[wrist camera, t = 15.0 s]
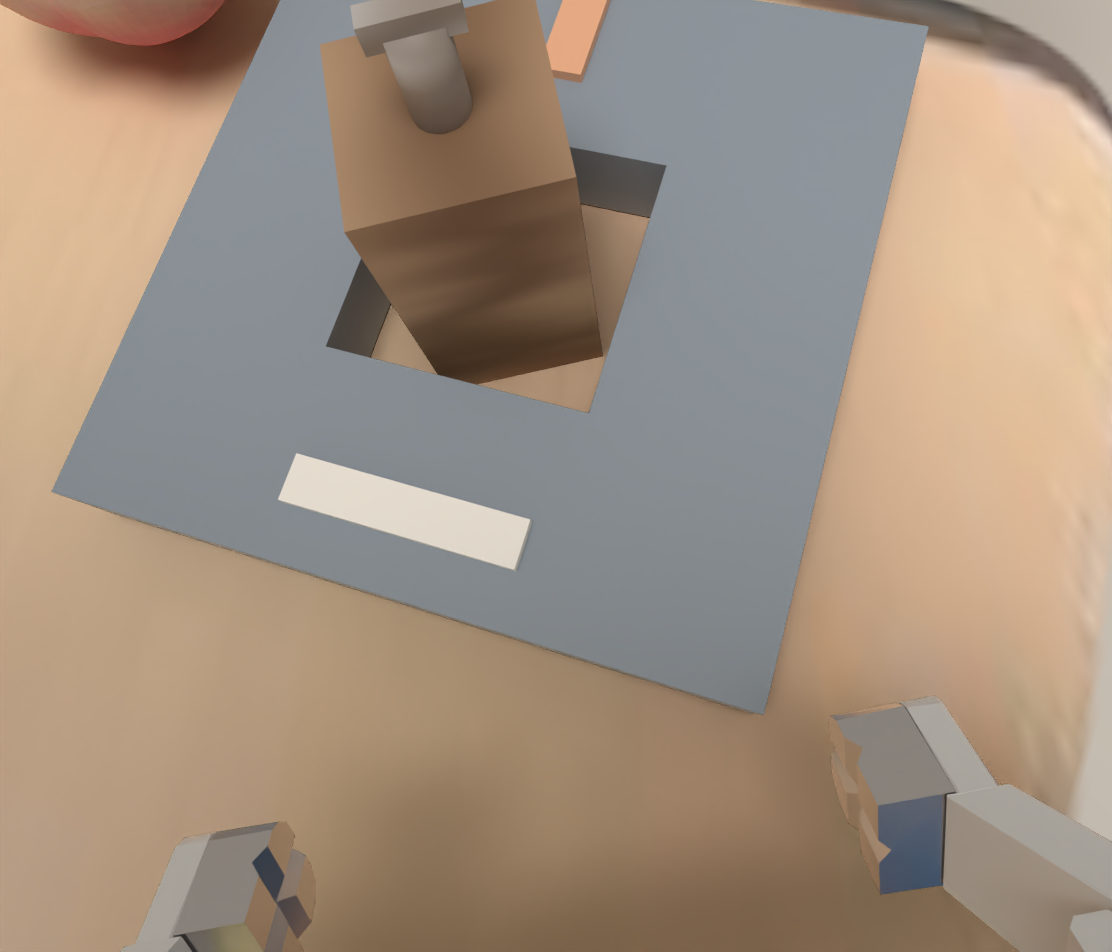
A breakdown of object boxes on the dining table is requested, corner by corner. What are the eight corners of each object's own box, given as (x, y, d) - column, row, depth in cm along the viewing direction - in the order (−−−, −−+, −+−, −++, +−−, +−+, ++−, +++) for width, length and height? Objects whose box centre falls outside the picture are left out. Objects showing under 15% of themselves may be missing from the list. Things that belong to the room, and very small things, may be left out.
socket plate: (114, 514, 23) (42, 488, 20) (341, 2, 27) (307, -75, 24) (750, 713, 19) (765, 715, 17) (900, 95, 23) (932, 17, 21)
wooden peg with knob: (448, 390, 23) (288, 146, 13) (426, 255, 24) (264, -64, 14) (602, 355, 22) (562, 80, 12) (572, 220, 24) (513, -130, 14)
